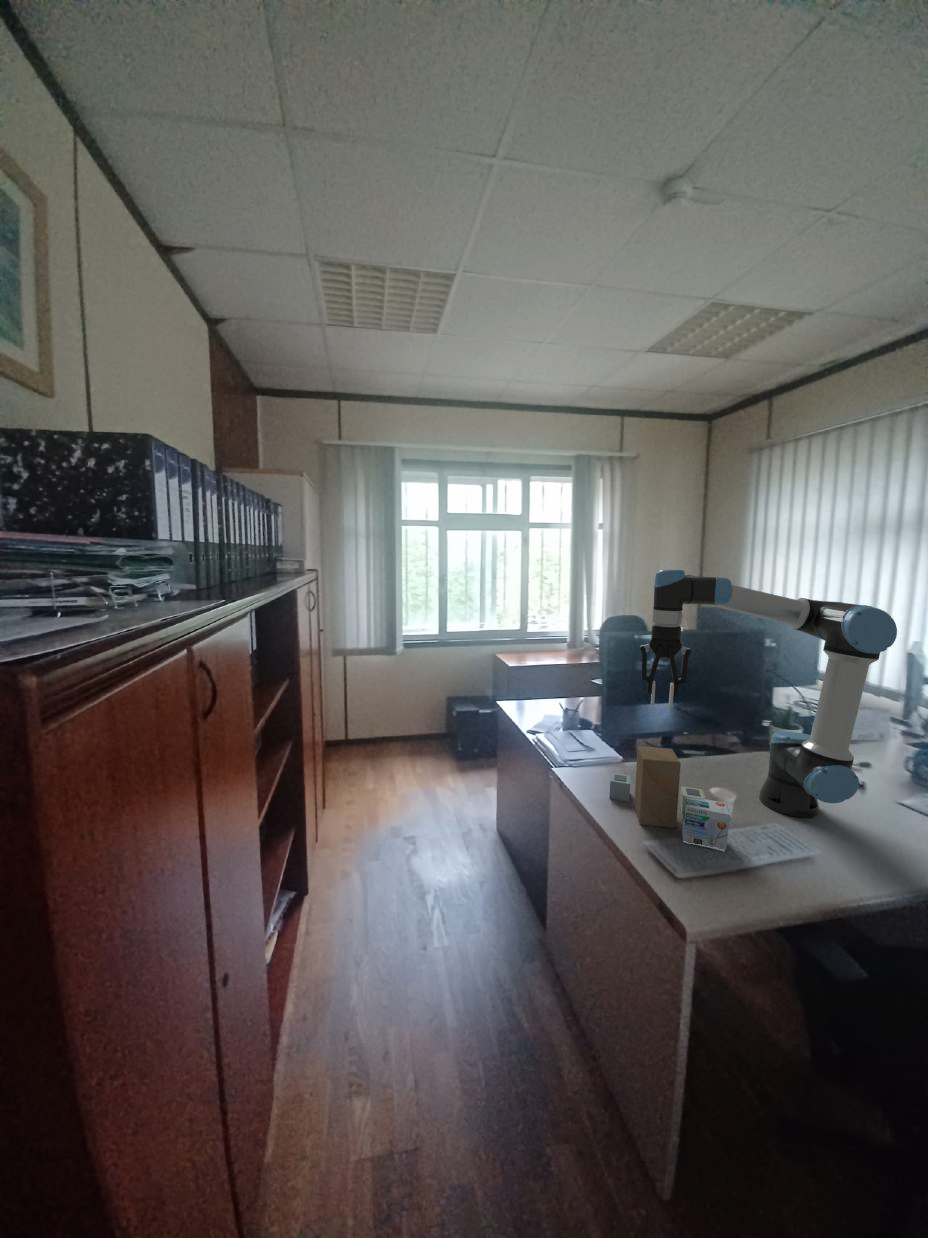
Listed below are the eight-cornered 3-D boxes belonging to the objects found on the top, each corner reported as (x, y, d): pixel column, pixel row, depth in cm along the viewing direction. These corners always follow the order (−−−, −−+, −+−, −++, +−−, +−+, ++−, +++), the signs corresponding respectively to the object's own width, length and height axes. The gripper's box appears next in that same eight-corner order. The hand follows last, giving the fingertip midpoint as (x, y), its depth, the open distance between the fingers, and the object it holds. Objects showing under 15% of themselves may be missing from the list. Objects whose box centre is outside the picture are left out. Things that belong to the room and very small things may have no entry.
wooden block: (676, 829, 131) (681, 762, 128) (639, 825, 133) (643, 759, 130) (668, 810, 141) (672, 748, 138) (633, 806, 143) (637, 745, 140)
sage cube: (700, 807, 143) (702, 788, 142) (704, 818, 137) (705, 798, 136) (679, 804, 145) (681, 785, 144) (681, 814, 139) (683, 794, 138)
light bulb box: (682, 844, 124) (685, 806, 123) (681, 830, 131) (683, 794, 129) (727, 853, 120) (730, 815, 119) (723, 839, 127) (727, 802, 125)
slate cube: (629, 792, 151) (630, 775, 151) (629, 802, 146) (630, 783, 145) (610, 789, 153) (610, 772, 152) (609, 798, 148) (610, 780, 147)
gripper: (698, 624, 130) (692, 704, 133) (633, 621, 136) (629, 698, 139) (702, 628, 123) (696, 712, 126) (634, 624, 129) (629, 705, 132)
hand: (661, 705), depth 132 cm, fingers open, 4 cm apart
